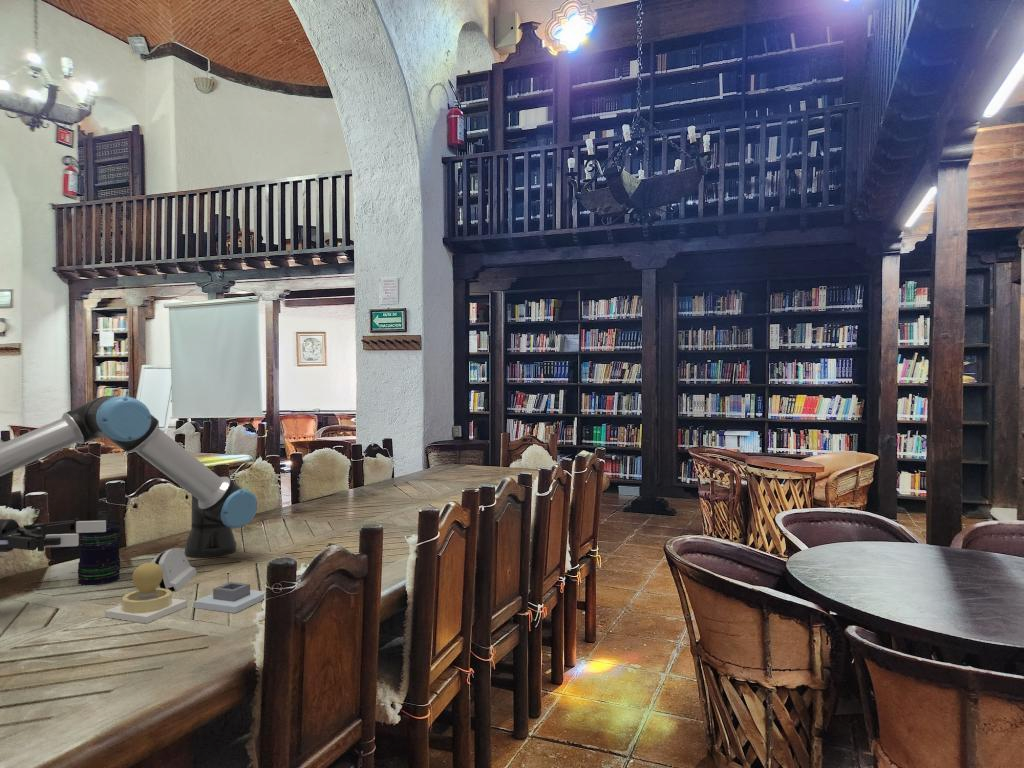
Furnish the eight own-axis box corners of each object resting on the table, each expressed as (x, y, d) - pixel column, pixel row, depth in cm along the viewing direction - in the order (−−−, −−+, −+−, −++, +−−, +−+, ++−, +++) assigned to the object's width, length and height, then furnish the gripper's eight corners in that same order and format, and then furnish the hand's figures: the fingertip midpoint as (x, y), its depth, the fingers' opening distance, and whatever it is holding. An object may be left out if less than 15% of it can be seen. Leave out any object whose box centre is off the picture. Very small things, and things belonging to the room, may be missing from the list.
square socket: (228, 592, 168) (228, 577, 168) (267, 597, 165) (268, 582, 165) (193, 607, 157) (194, 591, 157) (235, 613, 153) (235, 596, 153)
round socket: (147, 601, 161) (148, 585, 161) (187, 606, 157) (187, 590, 157) (104, 617, 149) (105, 600, 149) (146, 623, 146) (146, 605, 146)
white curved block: (176, 591, 168) (163, 555, 168) (158, 598, 168) (145, 562, 167) (197, 573, 185) (185, 540, 185) (180, 579, 184) (168, 546, 184)
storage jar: (69, 582, 174) (70, 527, 174) (105, 573, 183) (106, 520, 183) (92, 588, 170) (93, 531, 170) (128, 578, 179) (129, 524, 179)
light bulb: (130, 611, 149) (131, 568, 149) (132, 603, 155) (133, 561, 155) (162, 607, 152) (163, 565, 152) (162, 599, 158) (163, 558, 158)
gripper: (24, 538, 163) (115, 535, 166) (-44, 567, 138) (64, 563, 142) (24, 509, 163) (115, 506, 166) (-45, 532, 138) (64, 529, 142)
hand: (92, 532), depth 154 cm, fingers open, 13 cm apart
